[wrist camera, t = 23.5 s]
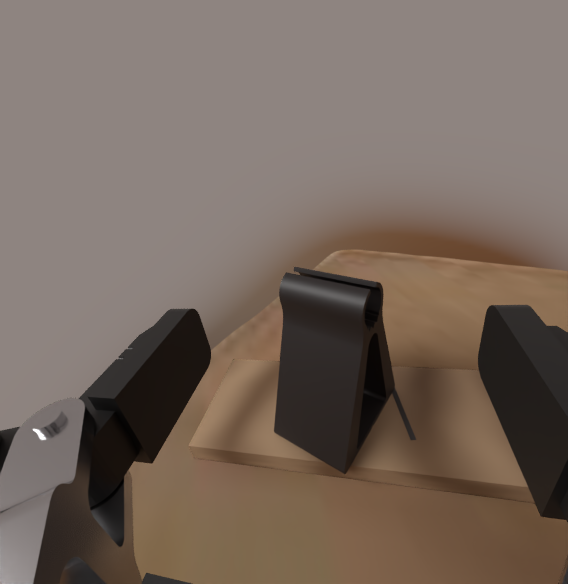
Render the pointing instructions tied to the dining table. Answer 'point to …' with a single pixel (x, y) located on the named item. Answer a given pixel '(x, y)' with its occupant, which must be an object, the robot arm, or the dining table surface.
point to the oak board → (375, 433)
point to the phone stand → (331, 364)
